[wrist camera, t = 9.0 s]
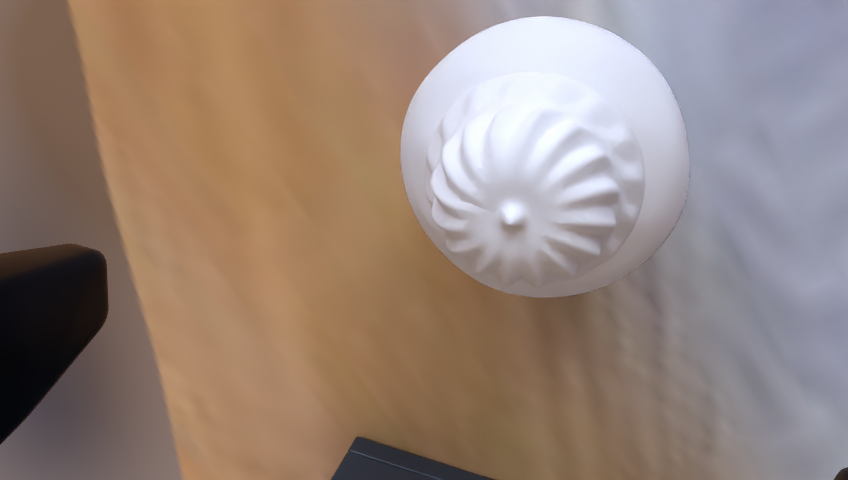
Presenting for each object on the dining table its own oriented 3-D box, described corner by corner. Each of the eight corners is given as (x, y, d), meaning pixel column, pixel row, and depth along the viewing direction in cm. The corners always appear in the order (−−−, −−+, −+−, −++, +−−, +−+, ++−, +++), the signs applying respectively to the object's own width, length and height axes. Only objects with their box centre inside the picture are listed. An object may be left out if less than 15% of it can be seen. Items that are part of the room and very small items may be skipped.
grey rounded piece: (732, 49, 17) (767, 120, 11) (629, 270, 20) (612, 425, 14) (482, -34, 18) (388, -10, 12) (416, 189, 21) (312, 301, 15)
